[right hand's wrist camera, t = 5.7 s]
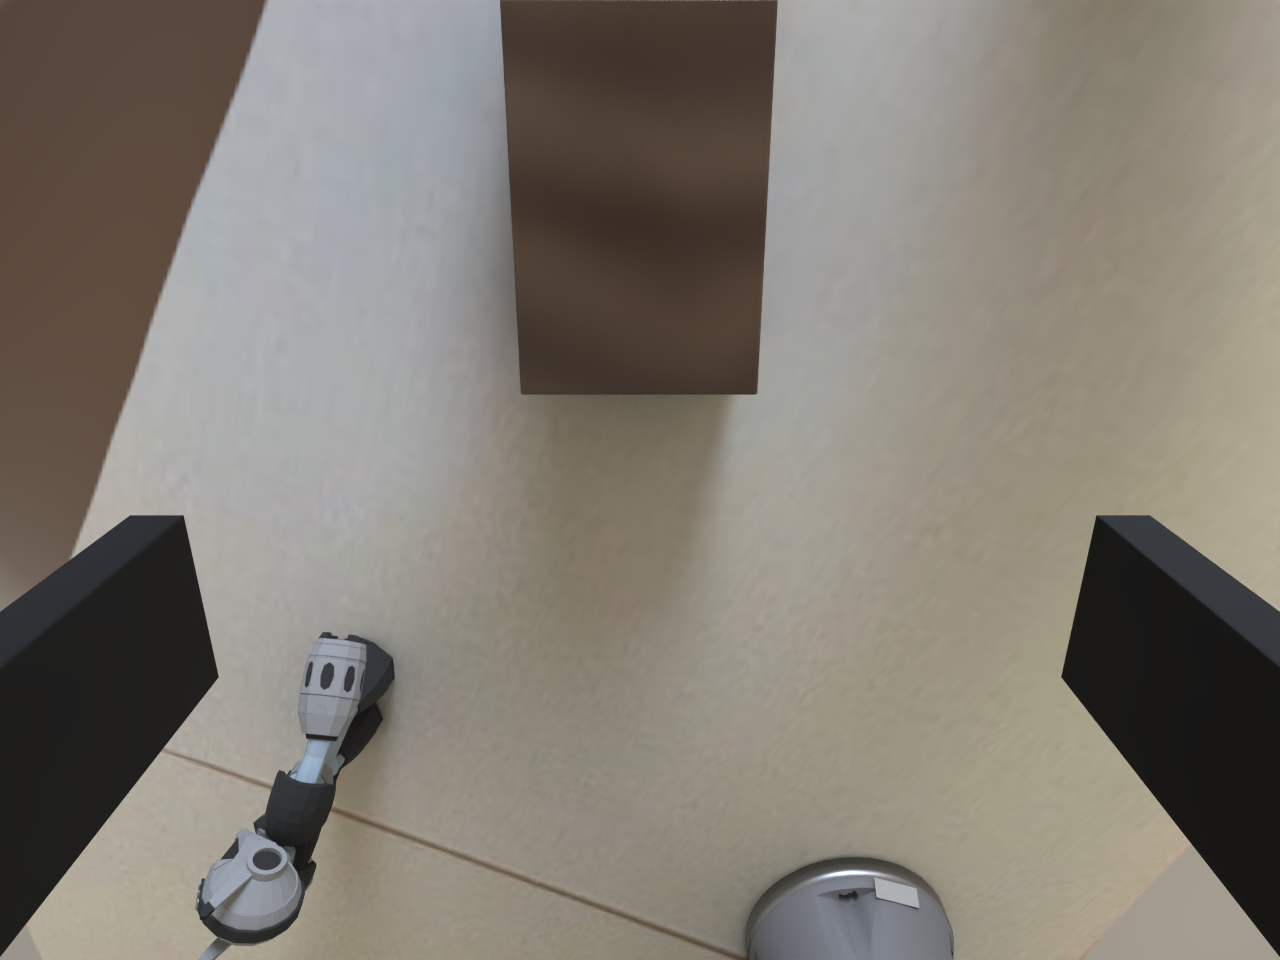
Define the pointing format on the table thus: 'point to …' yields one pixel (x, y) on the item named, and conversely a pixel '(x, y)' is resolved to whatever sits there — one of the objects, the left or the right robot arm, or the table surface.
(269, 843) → the robot
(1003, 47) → the table surface
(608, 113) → the cabinet
